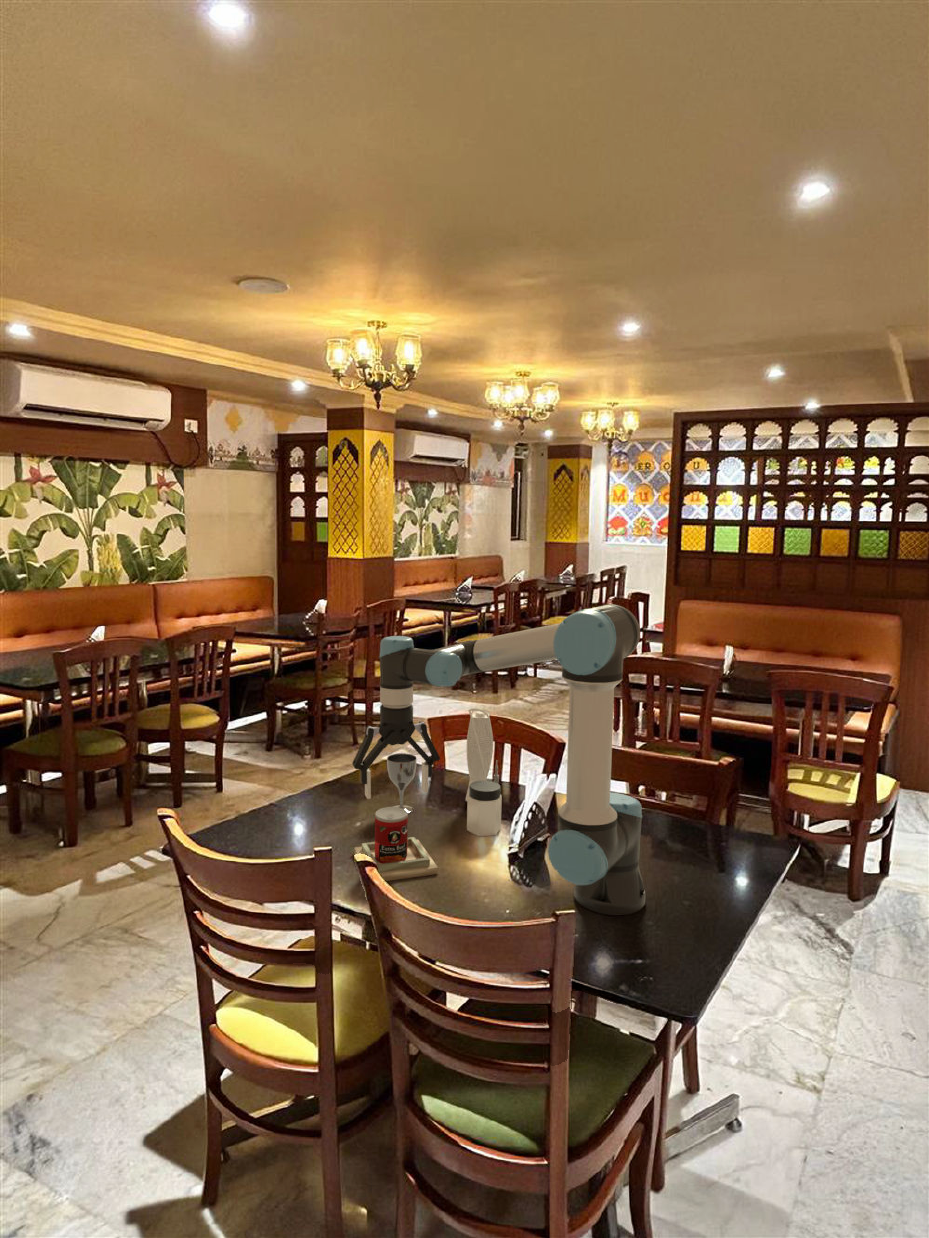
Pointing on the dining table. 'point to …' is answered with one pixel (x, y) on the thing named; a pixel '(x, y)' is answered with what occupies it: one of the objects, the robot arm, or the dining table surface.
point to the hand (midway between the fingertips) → (396, 793)
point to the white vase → (480, 747)
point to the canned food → (391, 834)
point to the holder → (410, 867)
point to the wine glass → (401, 773)
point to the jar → (484, 808)
